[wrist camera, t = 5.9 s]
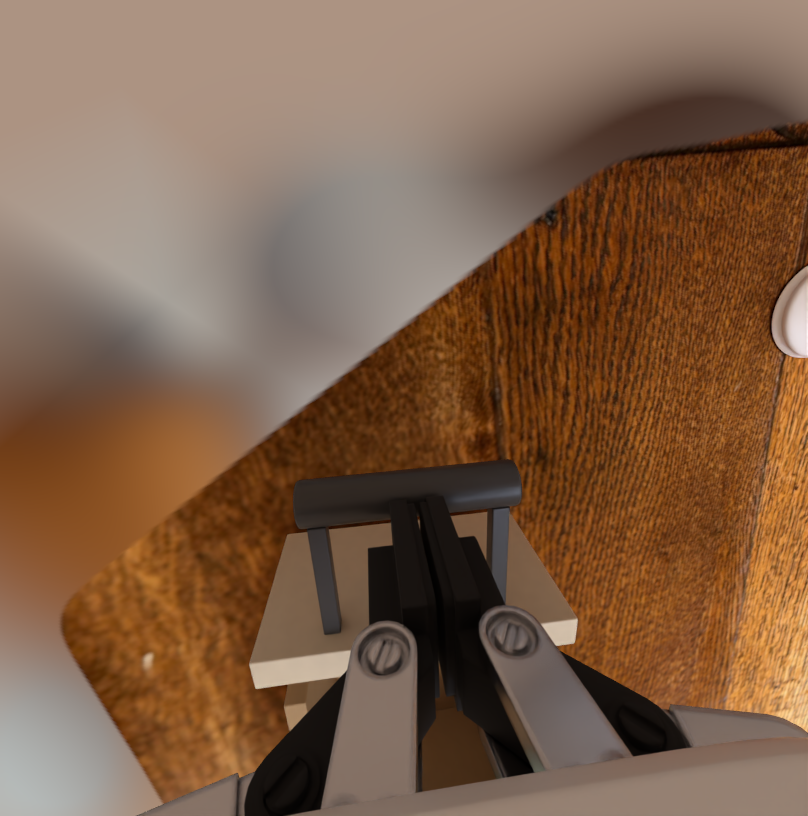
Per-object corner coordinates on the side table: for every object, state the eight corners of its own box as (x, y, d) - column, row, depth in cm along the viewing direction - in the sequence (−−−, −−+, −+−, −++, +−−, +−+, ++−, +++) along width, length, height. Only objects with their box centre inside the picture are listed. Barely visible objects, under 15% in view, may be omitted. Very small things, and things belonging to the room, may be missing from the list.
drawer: (266, 422, 17) (207, 509, 10) (512, 401, 18) (598, 469, 11) (320, 716, 23) (305, 883, 17) (500, 689, 24) (550, 837, 18)
